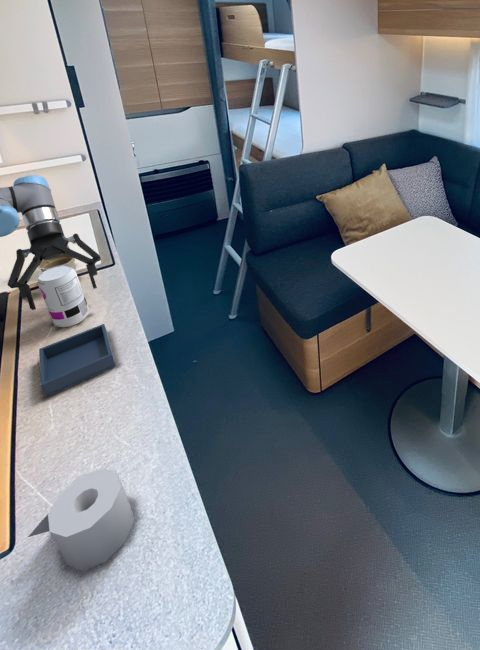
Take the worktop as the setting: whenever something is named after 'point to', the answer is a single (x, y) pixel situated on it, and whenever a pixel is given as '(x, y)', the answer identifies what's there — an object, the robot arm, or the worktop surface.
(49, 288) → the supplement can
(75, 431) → the worktop surface
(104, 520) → the toilet tissue
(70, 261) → the flower pot
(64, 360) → the blue open tray
